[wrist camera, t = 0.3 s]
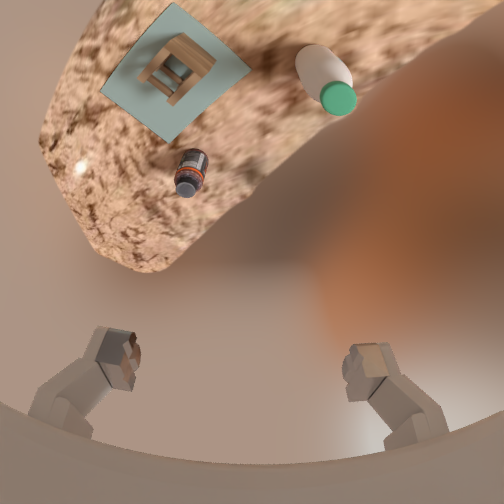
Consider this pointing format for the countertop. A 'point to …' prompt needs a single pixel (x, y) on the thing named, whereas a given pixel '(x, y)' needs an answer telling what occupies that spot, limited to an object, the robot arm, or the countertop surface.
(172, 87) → the mat
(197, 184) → the supplement bottle
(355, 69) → the countertop surface
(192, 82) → the open wooden box
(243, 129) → the countertop surface
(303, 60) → the milk bottle
